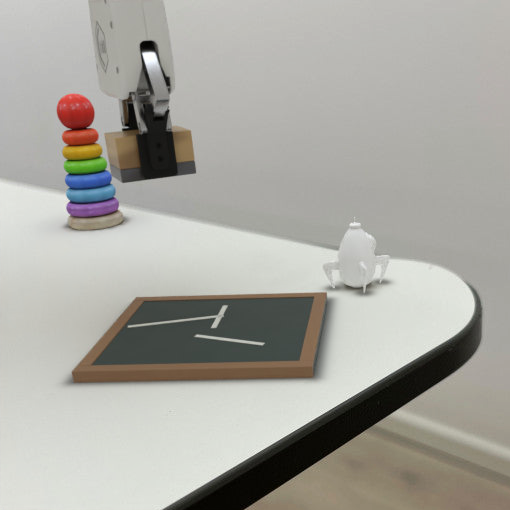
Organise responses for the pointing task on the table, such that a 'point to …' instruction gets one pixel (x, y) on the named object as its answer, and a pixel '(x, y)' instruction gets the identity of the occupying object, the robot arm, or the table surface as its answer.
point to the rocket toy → (356, 259)
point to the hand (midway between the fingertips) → (152, 171)
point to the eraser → (127, 155)
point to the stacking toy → (86, 168)
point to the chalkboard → (209, 339)
